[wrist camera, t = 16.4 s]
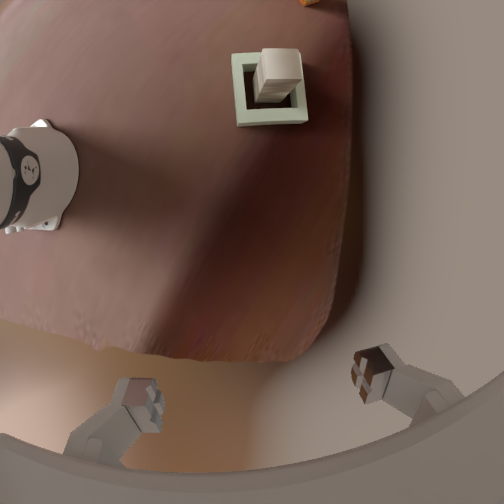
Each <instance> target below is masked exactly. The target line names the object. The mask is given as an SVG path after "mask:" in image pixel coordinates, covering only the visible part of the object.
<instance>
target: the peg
mask: <svg viewBox="0 0 504 504" xmlns="http://www.w3.org/2000/svg"><path fill="white" fill-rule="evenodd" d="M301 80H302V72H301V64H300V57H299V51H298V49H263V50H262V53H261V56H260V59H259V62H258V65H257V68H256V71H255V74H254V77H253V80H252V83H253V93H254V103H255V104H257V103H280V102H281V101H282V100H283V99H284V98H285V97H286V96H287V95H288V94H289V93H290V92H291V91H292V90H293V88H294V87H295V86H296V85H297V84H298V83H299V82H300V81H301Z"/></svg>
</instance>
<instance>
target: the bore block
mask: <svg viewBox="0 0 504 504" xmlns="http://www.w3.org/2000/svg"><path fill="white" fill-rule="evenodd" d="M261 53H262V52H258V53H237V54H232V60H231V64H232V75H233V86H234V97H235V108H236V119H237V127H241V126H254V125H270V124H301V123H303V122H305V121H308V113H307V104H306V95H305V86H304V78H303V71H302V63H301V56H300V53H299V57H300V64H301V72H302V80H301V81H300V82H299V83H298V84H297V85H296V86H295V87H294V88H293V90H292V91H291V92H290V99H291V108H271V109H252V110H247V109H246V98H245V88H244V77H243V72H252V71H256V68H257V65H258V62H259V59H260V56H261Z"/></svg>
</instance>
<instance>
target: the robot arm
mask: <svg viewBox="0 0 504 504" xmlns="http://www.w3.org/2000/svg"><path fill="white" fill-rule="evenodd" d="M78 175H79V165H78V158H77V154H76V150H75V148H74V146H73V144H72V142H71V141H70V139H69V138H68V137H67V136H66V135H65V134H63V133H61V132H59V131H57V130H55V129H53V128H52V126H51V125H50V123H49V122H48V121H47V120H46V119H39V120H38V121H36V122H35V123H34V124H32V125H31V126H30V127H16V128H14V129H13V131H12V132H10V133H9V134H8V135H7V136H5V135H1V136H0V230H1V229H4V228H5V232H6V234H10V233H14V232H16V231H17V232H21V231H24V229H34V230H50V231H51V230H55V229H57V228H58V226H59V224H60V220H61V216H62V213H63V211H64V210H65V208H66V207H67V206H68V204H69V203H70V201H71V200H72V198H73V195H74V193H75V190H76V187H77V182H78ZM47 222H48V224H47ZM353 359H354V361H355V364H354V365H353V366H352V369H351V378H352V381H353V383H354V385H355V387H357V388H359V389H360V392H359V395H360V396H361V398H362V400H363V402H364V404H369V403H372V402H375V401H378V400H382V399H383V401H385V402H386V403H388V404H389V405H391V406H393V407H394V408H396V409H398V410H399V411H401V412H402V413H404V414H406V415H407V416H409V417H411V418H413V420H412V422H411V424H410V425H409V427H408V428H406V429H404V430H402V431H400V432H397V433H395V434H392V435H390V436H387V437H385V438H382V439H379V440H377V441H374V442H371V443H368V444H365V445H363V446H359V447H357V448H353V449H350V450H347V451H343V452H340V453H336V454H333V455H329V456H325V457H321V458H317V459H312V460H308V461H303V462H298V463H293V464H288V465H282V466H277V467H270V468H262V469H254V470H244V471H232V472H213V473H178V472H160V471H148V470H137V469H130V468H126V467H125V466H124V465H123V464H122V463H121V462H120V461H119V459H120V458H121V457H122V456H123V455H124V453H125V452H126V451H127V450H128V449H129V448H130V446H131V445H132V444H133V443H134V442H135V441H136V440H137V438H138V437H139V436H140V435H141V432H148V433H160V432H161V427H162V419H161V417H160V415H161V414H162V413H163V412H164V398H163V395H162V392H161V391H160V390H158V389H157V387H158V383H157V382H156V379H154V378H127V377H126V378H125V377H121V378H120V379H119V380H118V383H117V386H116V388H115V391H114V394H113V397H112V400H111V402H110V405H106V406H104V407H103V408H102V409H100V410H99V411H98V412H97V413H95V414H94V415H93V416H92V417H90V418H89V419H88V420H86V421H85V422H84V423H83V424H81V425H80V426H79V427H77V428H76V429H75V430H74V431H72V432H71V433H70V436H69V439H68V441H67V444H66V447H65V450H64V453H63V454H60V453H56V452H53V451H50V450H47V449H44V448H41V447H38V446H35V445H32V444H29V443H27V442H24V441H22V440H20V439H17V438H15V437H12V436H10V435H8V434H5V433H0V504H504V371H503V372H502V373H500V374H499V375H498V376H497V377H495V378H494V379H492V380H491V381H490V382H488V383H487V384H485V385H484V386H482V387H481V388H479V389H478V390H476V391H475V392H473V393H472V394H470V395H469V396H467V397H464V395H463V394H462V393H461V392H460V391H459V389H458V388H457V387H456V386H455V385H454V383H453V382H452V381H451V380H448V379H446V378H443V377H440V376H438V375H435V374H432V373H430V372H427V371H425V370H422V369H419V368H417V367H414V366H412V365H405V363H404V362H403V361H402V360H401V358H400V357H399V356H398V355H397V353H396V352H395V351H394V350H393V349H392V347H391V346H390V345H389V344H388V343H385V344H382V345H378V346H376V347H371V348H368V349H364V350H360V351H357V352H355V354H354V358H353Z"/></svg>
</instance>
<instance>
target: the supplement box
mask: <svg viewBox="0 0 504 504" xmlns="http://www.w3.org/2000/svg"><path fill="white" fill-rule="evenodd" d="M298 1H299V2H300V3H301V4H302V5H303V6H307V5H310V4H313V3H316V2H319V0H298Z"/></svg>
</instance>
